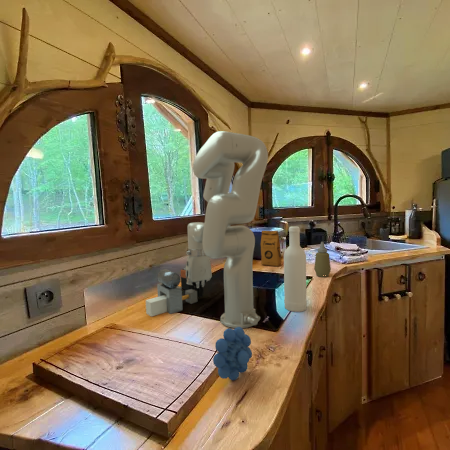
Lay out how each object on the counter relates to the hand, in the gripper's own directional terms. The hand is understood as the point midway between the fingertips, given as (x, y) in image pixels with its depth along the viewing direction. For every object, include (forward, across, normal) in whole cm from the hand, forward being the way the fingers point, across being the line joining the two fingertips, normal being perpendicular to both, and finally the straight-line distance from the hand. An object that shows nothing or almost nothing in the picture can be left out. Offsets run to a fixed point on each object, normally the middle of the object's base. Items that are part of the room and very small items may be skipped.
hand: (199, 296), depth 110 cm
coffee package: (+2, +66, +23) cm, 70 cm away
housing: (+1, -13, 0) cm, 13 cm away
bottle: (+1, +22, -32) cm, 39 cm away
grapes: (+1, -20, -50) cm, 54 cm away
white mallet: (+1, -12, -1) cm, 12 cm away
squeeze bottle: (+1, +67, -13) cm, 68 cm away
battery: (+2, +4, +16) cm, 16 cm away
